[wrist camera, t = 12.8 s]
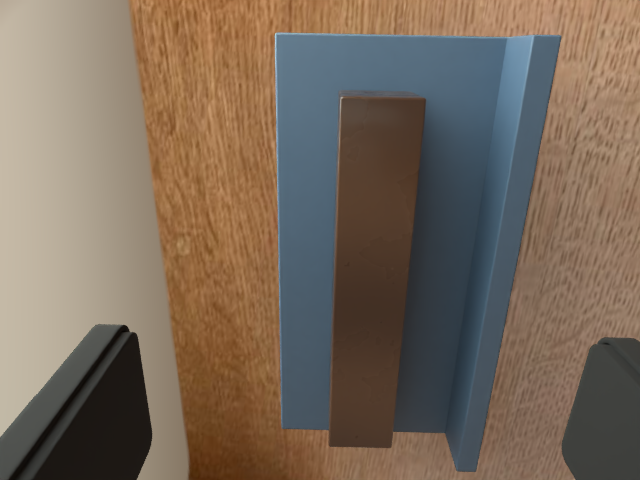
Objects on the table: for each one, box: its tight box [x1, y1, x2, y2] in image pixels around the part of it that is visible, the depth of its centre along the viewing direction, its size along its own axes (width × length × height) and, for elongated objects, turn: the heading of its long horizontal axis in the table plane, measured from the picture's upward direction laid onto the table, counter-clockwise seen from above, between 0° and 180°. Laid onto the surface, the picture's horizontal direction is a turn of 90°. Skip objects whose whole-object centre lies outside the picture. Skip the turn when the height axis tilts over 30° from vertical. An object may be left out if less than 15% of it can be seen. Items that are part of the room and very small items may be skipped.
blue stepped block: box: [275, 33, 561, 472], centre depth 25 cm, size 10×20×12 cm, turn 179°
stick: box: [329, 90, 426, 448], centre depth 20 cm, size 16×3×3 cm, turn 179°
